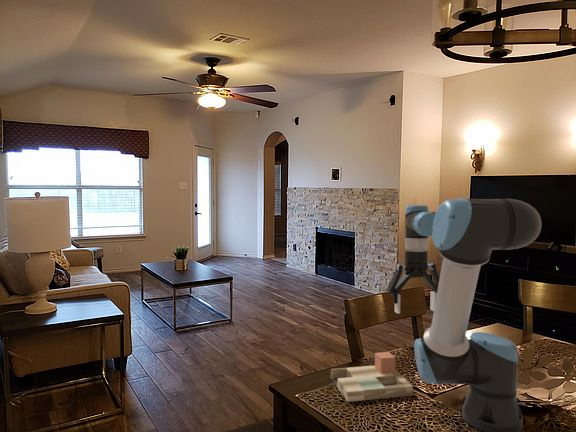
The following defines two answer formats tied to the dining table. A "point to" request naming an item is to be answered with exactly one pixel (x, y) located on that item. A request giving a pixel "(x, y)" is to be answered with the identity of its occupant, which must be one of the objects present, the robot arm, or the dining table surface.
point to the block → (385, 362)
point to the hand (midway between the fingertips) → (415, 311)
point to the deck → (369, 383)
